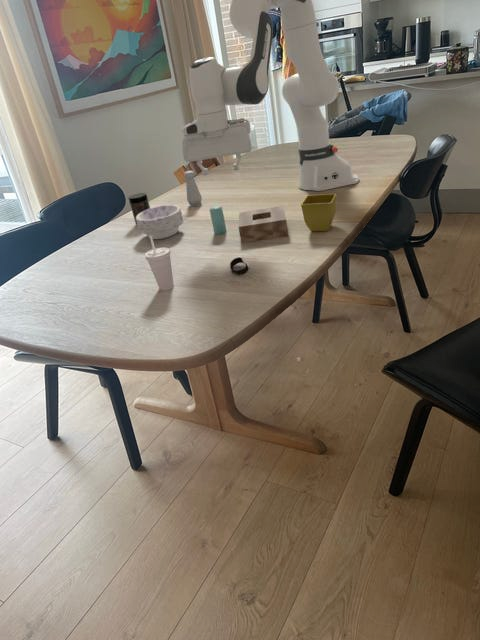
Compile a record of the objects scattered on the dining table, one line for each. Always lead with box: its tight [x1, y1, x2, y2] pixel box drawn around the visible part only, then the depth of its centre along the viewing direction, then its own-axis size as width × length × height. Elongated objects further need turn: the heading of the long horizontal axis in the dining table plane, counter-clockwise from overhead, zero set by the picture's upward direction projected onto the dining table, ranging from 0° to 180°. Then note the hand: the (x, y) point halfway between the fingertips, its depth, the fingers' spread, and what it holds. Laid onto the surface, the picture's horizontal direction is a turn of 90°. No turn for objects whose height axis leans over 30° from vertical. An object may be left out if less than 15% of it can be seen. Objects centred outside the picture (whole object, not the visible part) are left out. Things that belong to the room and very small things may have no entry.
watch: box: [229, 256, 250, 276], centre depth 122 cm, size 8×5×4 cm, turn 17°
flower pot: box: [300, 193, 337, 232], centre depth 137 cm, size 9×9×9 cm
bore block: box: [237, 205, 289, 244], centre depth 144 cm, size 14×14×5 cm
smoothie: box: [144, 236, 175, 291], centre depth 117 cm, size 6×6×14 cm
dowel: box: [209, 205, 227, 235], centre depth 150 cm, size 4×4×8 cm
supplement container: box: [127, 192, 151, 226], centre depth 173 cm, size 7×7×10 cm
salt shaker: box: [183, 170, 203, 207], centre depth 183 cm, size 6×6×13 cm
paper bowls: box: [136, 204, 184, 240], centre depth 158 cm, size 15×15×8 cm
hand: (221, 172), depth 140 cm, fingers open, 8 cm apart
